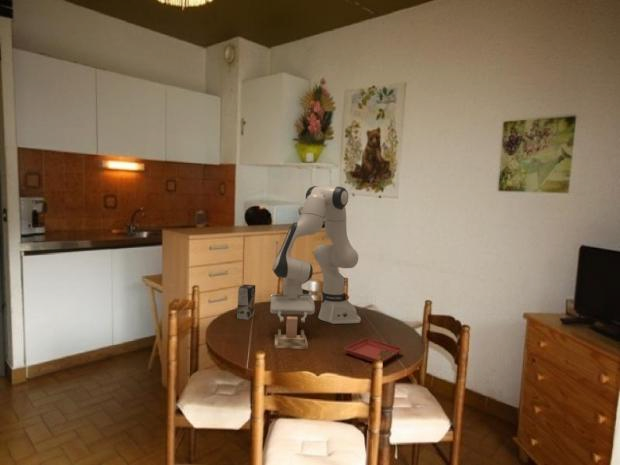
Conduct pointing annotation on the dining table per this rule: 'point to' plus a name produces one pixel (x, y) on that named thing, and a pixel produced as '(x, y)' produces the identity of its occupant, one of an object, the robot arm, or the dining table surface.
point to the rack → (291, 341)
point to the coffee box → (246, 302)
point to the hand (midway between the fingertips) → (292, 321)
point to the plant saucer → (371, 349)
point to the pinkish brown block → (291, 327)
